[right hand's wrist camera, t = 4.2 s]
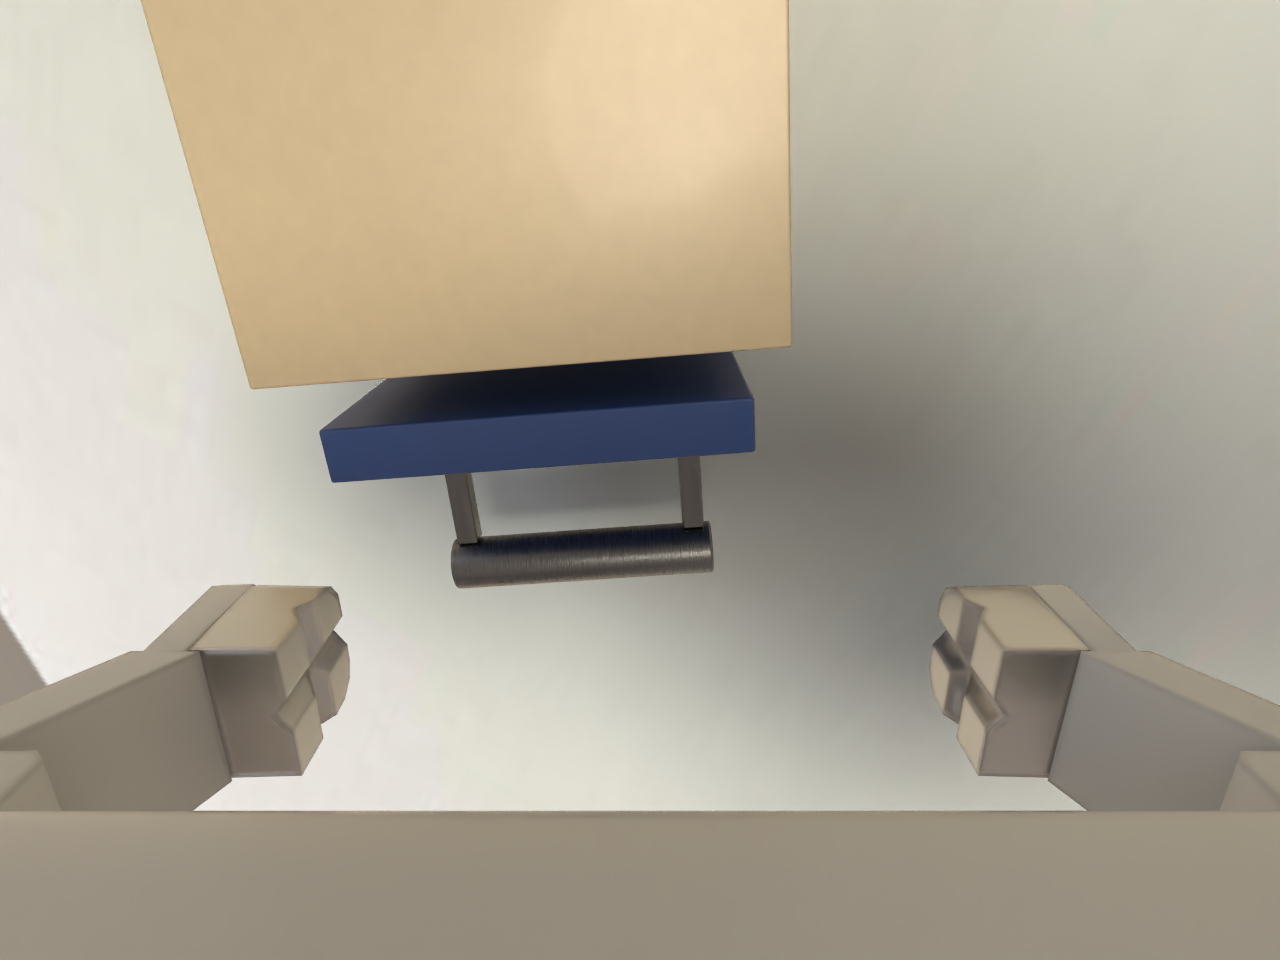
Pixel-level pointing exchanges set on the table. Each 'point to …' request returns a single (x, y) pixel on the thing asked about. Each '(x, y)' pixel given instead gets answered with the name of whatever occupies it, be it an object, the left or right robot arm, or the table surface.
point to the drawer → (554, 453)
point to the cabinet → (485, 179)
